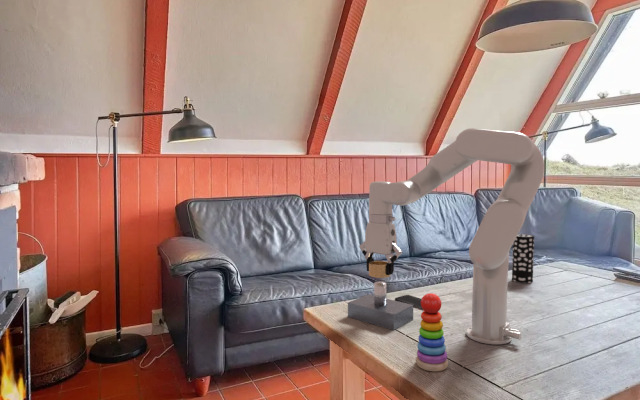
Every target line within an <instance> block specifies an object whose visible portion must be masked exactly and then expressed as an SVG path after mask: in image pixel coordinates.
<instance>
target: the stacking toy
mask: <svg viewBox="0 0 640 400" xmlns="http://www.w3.org/2000/svg"><path fill="white" fill-rule="evenodd" d="M420 299H421V307H422V309H423V310H422V309H421V310H422V312H421V314H420V317H421V321H420V324H419V325H420V328H419V330H418V332H419V335H418V342H417V350H416V355H417V356H416V358H415V363H416V366H418V367H419V368H420V369H422V370H425V371H429V372H442V371H445V370H446V369H447V368H448V366H449V362H448V361H449V360H448V352H447V347H446V344H445V342H446V340H445V337H444V333H445V332H444V330H443V327H444V324H443V321H442V318H443V317H442V314H441V312H439V311H440V310H441V308H442V306H443V305H442V304H443V303H442V300H441V298H440V297H439V296H438V295H437V294H436V293H433V292H431V293H426V294H424V295H423V296H422V297H421V298H420Z"/></svg>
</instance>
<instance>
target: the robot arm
mask: <svg viewBox="0 0 640 400" xmlns="http://www.w3.org/2000/svg"><path fill="white" fill-rule="evenodd" d="M477 161H481V162H482V161H483V162H488V163H496V164H497V163H498V164H506V165H510V172H509V174H508V176H507V178H506V180H505V182H504V184H503V187H502V189H501V191H500V193H499V195H498V197H497V199H496V200H495V201H494V202H492V203H491V204H490V206H489V207H488V208H487V210H486V212H485V214H484V216H483V218H482V220H481V222H480V224H479V226H478V227H477V230H476V232H475V234H474V237H473V238H472V240H471V243H470V245H469V248H468V255H469V259H470V261H471V263H472V265H473V268H472V294H471V295H472V300H471V301H472V303H471V305H472V307H471V326H469V327H467V328H466V329H465V334H466V336H467V337H468V338H469V339H471V340H473V341H475V342H477V343H481V344H484V345H485V344H486V345H497V346H499V345H505V344H508V343H510V342H512V339H515V340H521V339H522V332H520V330H519V329H513V328H511V327H510V322H507V314H508V313H507V310H508V307H507V306H508V284H509V283H508V281H509V279H508V278H509V261H510V250H511V248H512V247H513V243H514V241H515V239H516V237H517V235H518V234H520V231H521V229H522V227H523V226H524V223H525V220H526V216H527V213H528V211H529V209H530V206H531V205H532V203H533V201H534V199H535V197H536V194H537V193H538V190H539V188H540V186H541V183H542V181H543V179H544V173H545V162H544V161H545V160H544V158H543V154H542V152H541V151H540V149H539V147H538V146H537V145H536V144H535V142H534V141H533V140H532V139H531V138H530V137H529V136H528V135H527V134H525V133H522V132H516V131H506V130H505V131H503V130H494V129H493V130H491V129H482V128H474V127H470V128H466V129H464V130H462V131H461V132H459V134H458V135H457V136H456V139H455V140H454V141H453V142H452V143H450V144H449V145H447V146H446V147H444V148H442V149H441V150H440V151H439V152H437V153H435V154H434V155H433V156H432V157H430V159H429V161H428V163H427V164H426V166H425V167H423V168H422V170H420V171H419V172H418V173H416V174H414V175H413V176H411V177H410V178H409V179H407V180H403V181H397V182H390V181H378V180H377V181H372V182H370V184H369V192H368V193H369V196H368V197H369V198H368V199H369V200H368V201H369V204H368V222H367V224H366V228H365V229H366V230H365V236H364V237H365V239H364V241H363V242H362V243H361V244H360V245H359V249H360V251H361V253H362V255H363V256H364V258H365V260H366V264H365V265H366V271H367V272H369V262H372V261H375V260H374V259H375V258H374V255H375V254H377V255H384V256H385V259H386V260H387V261H386V262H388V263H387V264H386V275H390V276H391V275H393V274H394V271H395V262H396V261H397V260H398V259H399V258H400V256H402V254H403V251H402V249H400V247H399V246H398V240H397V239H398V238H397V231H396V230H397V229H396V225H395V223H393V222H395V221H396V217H395V216H393V215H394V214H393V205H394V206H395V205H396V206H399V207H400V206H401V207H402V206H407V205H409V204H413V203H416V202H418V201H419V200H420V199H422V198H423V197H425V196H426V195H428V194H429V193H431V192H433V191H434V190H435V189H437V188H438V187H440V186H441V185H443V184H444V183H447V182H448V181H449V180H450V179H452V178H453V177H455V176H456V175H458V174H459V173H461V172H462V171H463V170H465V169H466V168H468V167H470V166H472V165H473V164H475V163H476V162H477Z"/></svg>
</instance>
